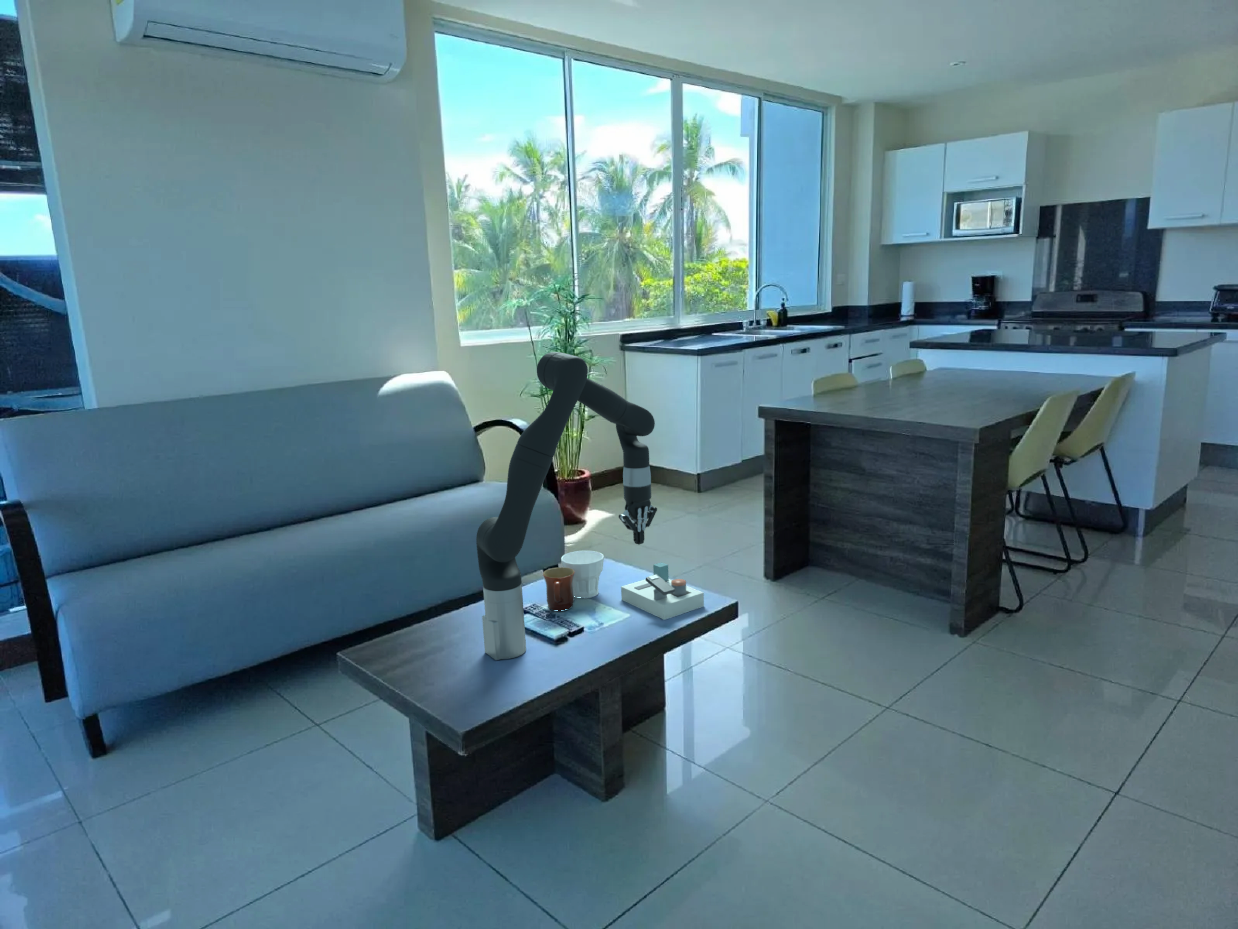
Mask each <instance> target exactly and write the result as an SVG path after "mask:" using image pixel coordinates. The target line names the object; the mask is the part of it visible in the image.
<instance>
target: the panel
mask: <svg viewBox="0 0 1238 929" xmlns="http://www.w3.org/2000/svg"><path fill="white" fill-rule="evenodd" d="M672 580H673V579H670V578H669V580H667V581H665V582H667V583H668V584H669V585H671V581H672ZM704 593H705V592H704V591H701V590H698V589H695V588H694V587H691V586H688V585H686V595H684V596H681V597H676V596H674V595H672V593H670V594H667V595H663V594H661V593H660V592H659V591H658V590H657V589H655V588H654V587H653V586H652V585H650V584H649V583H648V582H647V581H646V578H645V579H642V580H639V581H635V582H631V583H629V584H625V585H622V586H620V594H621V601H623V602H625V603H627V604H630V605H632V606H634V607H635V608H638V609H640V610H642V611H643V612H644V611H645V612H646V613H649V614H651V615H653V616H655V617H658V618H660V619H662V620H664V621H665V620H668V619H671V618H674V617H677V616H680V615H683V614H686V613H688V612H691V611H694V610H697V609H700V608H703V607H705V597H704V596H705V594H704Z"/></svg>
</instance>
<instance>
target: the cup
mask: <svg viewBox="0 0 1238 929" xmlns="http://www.w3.org/2000/svg"><path fill="white" fill-rule="evenodd" d="M604 559H605V556H604V554H603V553H601V552H600V551H596V550H595V551H594V550H575V551H570V552H568V553H564V554H563V555H562V556H561V558H560V560H561V564H562V567H565V568H570V569H573V570H574V571H575V573H574V577H573V596H575V597H581V598H584V599H591V598H594V597H596V596H598V595H599V592H600V591H599V584H600V576H601V574H602V572H603V571H604Z"/></svg>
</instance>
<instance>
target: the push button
mask: <svg viewBox="0 0 1238 929" xmlns="http://www.w3.org/2000/svg"><path fill="white" fill-rule="evenodd" d="M671 580H672V581H671V586H672V587H673V588H674V589H675V592H673V593H672V595H674V596H676V597H681V596H684V595H686V586H687V581H686V580H685V579H683V578H675V579H671Z"/></svg>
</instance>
